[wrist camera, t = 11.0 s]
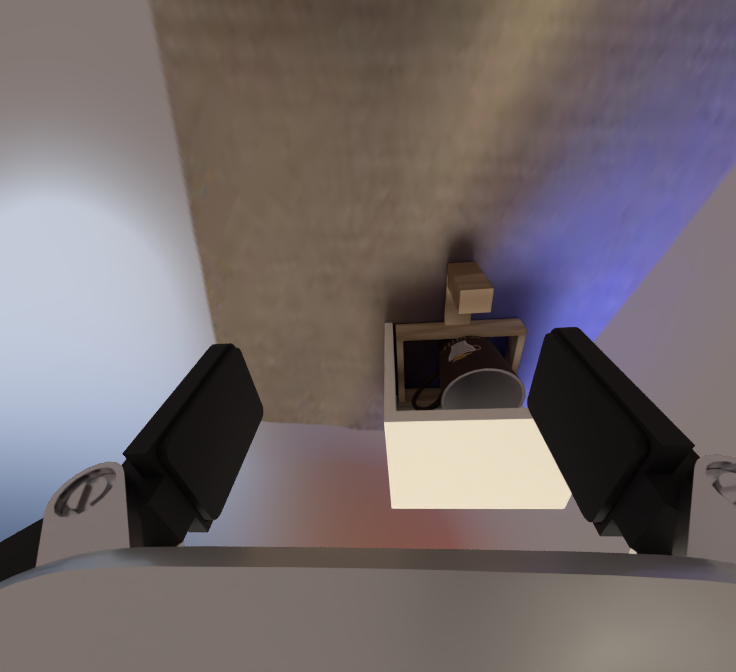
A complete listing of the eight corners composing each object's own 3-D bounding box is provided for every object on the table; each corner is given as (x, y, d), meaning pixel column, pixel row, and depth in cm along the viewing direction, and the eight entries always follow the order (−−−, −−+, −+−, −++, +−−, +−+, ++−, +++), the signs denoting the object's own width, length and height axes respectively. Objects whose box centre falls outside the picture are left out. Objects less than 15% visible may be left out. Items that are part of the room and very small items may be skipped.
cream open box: (384, 323, 39) (384, 422, 26) (530, 315, 38) (610, 417, 24) (389, 400, 47) (391, 508, 34) (511, 397, 45) (564, 508, 32)
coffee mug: (500, 315, 38) (532, 366, 30) (492, 368, 43) (518, 425, 34) (406, 321, 39) (411, 372, 31) (408, 372, 44) (413, 428, 35)
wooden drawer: (392, 266, 35) (394, 294, 29) (532, 257, 33) (564, 284, 27) (398, 393, 46) (400, 432, 40) (504, 389, 44) (522, 430, 38)
